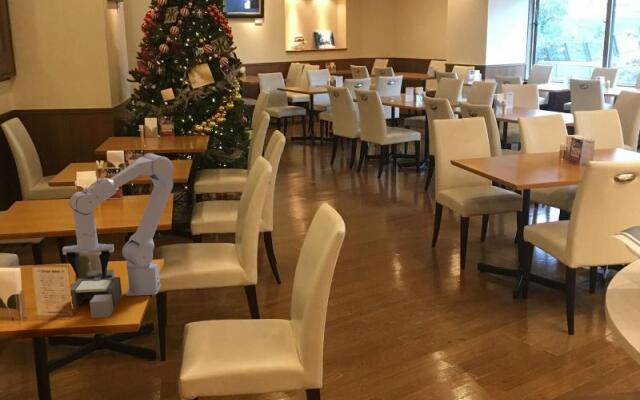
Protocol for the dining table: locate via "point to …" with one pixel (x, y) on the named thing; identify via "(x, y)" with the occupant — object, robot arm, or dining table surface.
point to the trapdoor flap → (98, 283)
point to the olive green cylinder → (83, 265)
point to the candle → (95, 261)
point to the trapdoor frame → (112, 289)
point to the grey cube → (101, 306)
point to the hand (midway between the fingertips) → (91, 275)
